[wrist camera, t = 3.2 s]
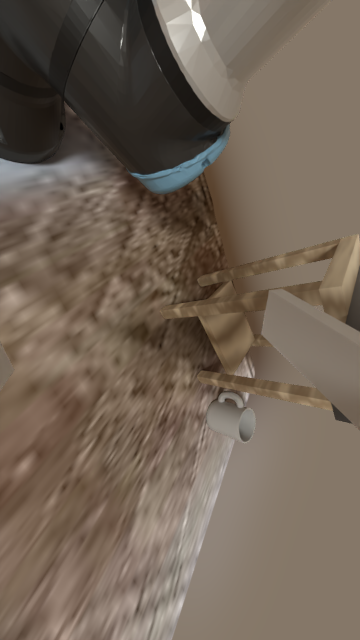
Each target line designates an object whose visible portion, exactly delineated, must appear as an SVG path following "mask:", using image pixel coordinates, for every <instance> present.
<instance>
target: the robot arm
mask: <svg viewBox="0 0 360 640" xmlns="http://www.w3.org/2000/svg"><path fill="white" fill-rule="evenodd" d="M331 1H332V0H0V157H1V158H4V159H7V160H11V161H16V162H23V163H34V162H40V161H44V160H46V159H48V158H50V157H51V156H52V155H53V154H54V153H55V152H56V151H57V149H58V148H59V145H60V143H61V141H62V138H63V135H64V131H65V113H64V112H65V109H64V101H65V102H66V103H67V104H68V105H69V106H70V108H71V109H72V110H73V111H74V112H75V113H76V114H77V115H78V116H79V117H80V118H81V119H82V121H83V122H84V123H85V124H86V125H87V126H88V127H89V128H90V129H91V130H92V131H93V133H94V134H95V135H96V136H97V137H98V138H99V139H100V140H101V141H102V142H103V143H104V144H105V146H106V147H107V148H108V149H109V150H110V151H111V152H112V153H113V154H114V155H115V156H116V157H117V159H118V160H119V161H120V162H121V163H122V164H123V165H124V166H125V167H126V169H127V171H128V172H129V173H130V174H131V175H132V176H134V177H136V178H137V179H138V180H139V181H140V182H141V183H142V184H143V185H144V186H145V187H146V188H147V189H148V190H150V191H151V192H153V193H156V194H167V193H171V192H174V191H176V190H178V189H180V188H182V187H184V186H185V185H187V184H189V183H190V182H191V181H193V180H194V179H196V178H197V177H198V176H199V175H201V174H202V173H203V171H204V168H205V167H207V166H209V165H211V164H212V163H213V162H214V161H215V160H216V159H217V158H218V156H219V155H220V154H221V153H222V151H223V150H224V148H225V146H226V145H227V142H228V140H229V136H230V128H229V127H230V125H229V123H231V121H233V120H234V119H235V118H236V117H237V116H238V114H239V112H240V109H241V104H242V100H243V95H244V91H245V87H246V85H247V83H248V81H249V80H250V79H251V78H252V77H253V76H254V75H255V74H256V73H257V72H258V71H259V70H260V69H261V68H262V67H263V66H265V65H266V64H267V63H268V62H269V61H270V60H271V59H272V58H273V57H274V56H275V55H276V54H277V53H278V52H279V51H280V50H281V49H282V48H283V47H284V46H285V45H286V44H287V43H288V42H290V40H292V39H293V38H294V37H295V36H296V35H297V34H298V33H299V32H300V31H301V30H302V29H303V28H304V27H305V26H306V25H307V24H308V23H309V22H310V21H311V20H312V19H313V18H314V17H315V16H316V15H318V14H319V13H320V12H321V11H322V10H323V9H324V8H325V7H326V6H327V5H328V4H329V3H330V2H331ZM261 335H262V336H263V337H264V338H265V339H267V340H268V341H269V342H270V343H271V344H272V345H273V346H274V347H275V348H276V349H277V350H278V351H279V352H280V353H281V354H282V355H283V356H284V357H285V358H286V359H287V360H288V361H289V362H290V363H291V364H292V365H293V366H294V367H295V368H296V369H297V370H298V371H299V372H301V374H302V375H303V376H304V377H305V378H307V379H308V380H309V381H310V382H311V383H312V384H313V385H314V386H315V387H316V388H317V389H318V390H319V391H320V392H321V393H322V394H323V395H324V396H325V397H326V398H327V399H328V400H329V401H330V402H331V403H332V404H333V405H334V406H335V407H336V408H337V409H338V410H339V411H340V412H341V413H342V414H343V415H344V416H345V417H346V418H347V419H349V420H350V421H351V422H352V423H353V424H354V425H355V426H356V427H357V428H358V429H359V430H360V332H359V331H357V330H356V329H354V328H352V327H350V326H348V325H347V324H345V323H343V322H341V321H339V320H338V319H336V318H334V317H332V316H330V315H329V314H327V313H325V312H323V311H321V310H319V309H318V308H316V307H314V306H312V305H310V304H309V303H307V302H305V301H303V300H301V299H300V298H298V297H296V296H294V295H292V294H291V293H289V292H287V291H285V290H283V289H276V290H269V294H268V299H267V305H266V310H265V315H264V320H263V326H262V332H261ZM13 371H14V368H13V366H12V364H11V362H10V360H9V358H8V356H7V354H6V352H5V350H4V348H3V346H2V344H1V342H0V391H1V389H2V388H3V386H4V385H5V383H6V382H7V380H8V379H9V377H10V376H11V374H12V373H13Z"/></svg>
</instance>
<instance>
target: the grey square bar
mask: <svg viewBox="0 0 360 640" xmlns="http://www.w3.org/2000/svg"><path fill="white" fill-rule="evenodd" d="M345 324H347V325H348V326H350V327H352V328H354V329H356V330H357V331H359V332H360V266H359V270H358V274H357V278H356V282H355V286H354V291H353V295H352V299H351V303H350V307H349V311H348V315H347V319H346V323H345ZM331 405H332V409H333V412H334V415H335V419H336V420H339V421H343V422H348V423H352V422H351V421H350V420H349V419H347V418H346V417H345V416H344V415H343V414H342V413H341V412H340V411H339V410H338V409H337V408H336V407H335V406H334V405H333V404H332V403H331ZM352 424H353V423H352Z"/></svg>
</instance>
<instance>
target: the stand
mask: <svg viewBox="0 0 360 640" xmlns="http://www.w3.org/2000/svg"><path fill="white" fill-rule="evenodd" d="M330 258H332V260H331V263H330V265H329V267H328V269H327V272H326V274H325V276H324V279H323V281H318V282H312V283H306V284H299V285H293V286H287V287H280V288H274V289H268V290H262V291H256V292H249V293H243V294H237V293H236V291H235V288H234V286H233V283H232V281H231V280H234V279H238V278H243V277H248V276H252V275H257V274H261V273H266V272H271V271H275V270H279V269H284V268H289V267H293V266H298V265H302V264H307V263H311V262H316V261H320V260H325V259H330ZM359 266H360V242H359V235H358V234H356V235H352V236H348V237H344V238H341V239H337V240H333V241H330V242H326V243H322V244H318V245H315V246H311V247H307V248H304V249H300V250H297V251H292V252H289V253H285V254H281V255H277V256H274V257H270V258H267V259H263V260H259V261H255V262H252V263H248V264H244V265H240V266H237V267H233V268H229V269H225V270H222V271H218V272H214V273H210V274H207V275H203V276H201V277H200V278H198V279H197V280H198V283H199V285H200V287H202V286H207V285H211V284H216V283H221V282H224V283H223V284H222V285H221V286H220V287H219V288H218V289H217V290H216V291H215V292H214V293H213V294H212V295H211V296H210V297H209V298H208V299H205V300H199V301H193V302H186V303H180V304H174V305H168V306H165V307H164V308H163V309H161V310H160V312H161V314H162V316H163V318H164V319H171V318H183V317H194V316H198V317H199V319H200V321H201V323H202V325H203V327H204V329H205V331H206V333H207V335H208V337H209V339H210V341H211V343H212V345H213V347H214V349H215V351H216V353H217V355H218V357H219V359H220V361H221V363H222V365H223V367H224V369H225V371H226V373H227V374H222V373H216V372H209V371H203V370H201V371H200V373H199V374H198V375H197V378H198V379H199V381H200V383H205V384H209V385H214V386H219V387H224V388H228V389H233V390H238V391H242V392H247V393H252V394H256V395H261V396H266V397H271V398H275V399H280V400H285V401H289V402H294V403H299V404H304V405H308V406H313V407H318V408H322V409H327V410H332V411H333V409H332V405H331V402H330V401H329V400H328V399H327V398H326V397H325V396H324V395H323V394H322V393H321V392H320V391H319V390H318V389H317V388H311V387H305V386H298V385H292V384H286V383H279V382H273V381H267V380H260V379H254V378H248V377H241V376H235V375H233V374H234V373H235V371H236V370H237V368H238V366H239V365H240V363H241V362H242V360H243V358H244V357H245V355H246V354H247V352H248V350H249V349H250V347H251V346H268V347H274V346H273V345H272V344H271V343H270V342H269V341H268V340H267V339H265V338H264V337H263V336H262V335H253V333H252V331H251V328H250V326H249V323H248V321H247V318H246V316H245V313H244V312H250V311H261V310H266V305H267V299H268V294H269V290H276V289H283V290H285V291H287V292H289V293H291V294H292V295H294V296H296V297H298V298H300V299H301V300H303V301H305V302H307V303H309V304H310V305H312V306H318V305H323V308H324V312H325V313H327V314H329V315H330V316H332V317H334V318H336V319H338V320H339V321H341V322H343V323H346V319H347V315H348V311H349V307H350V303H351V299H352V295H353V291H354V286H355V282H356V278H357V274H358V270H359Z"/></svg>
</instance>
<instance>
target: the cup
mask: <svg viewBox="0 0 360 640" xmlns="http://www.w3.org/2000/svg"><path fill="white" fill-rule="evenodd" d="M225 398H230V399H233V400H234V401H235V402H236V404H237V405H236V404H233V403H229V402H225ZM206 421H207V425H208V426H209V428H210V429H211V430H213V431H215V432H218V433H220V434H223V435H225V436H228V437H230V438H232V439H235V440H238V441H240V442H242V443H248V442H249V441H250V439H251V438H252V436H253V434H254V431H255V423H256V420H255V414H254V412H253V410H252V409H250V408H247V407H244V403H243V400H242V399H241V397H240V396H239V395H237V394H236V393H233V392H230V391H224V392H222V393H221V394H220V395H219V398H218V400H215V401H213V402H212V403H211V404H210V406H209V407H208V410H207V414H206Z"/></svg>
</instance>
